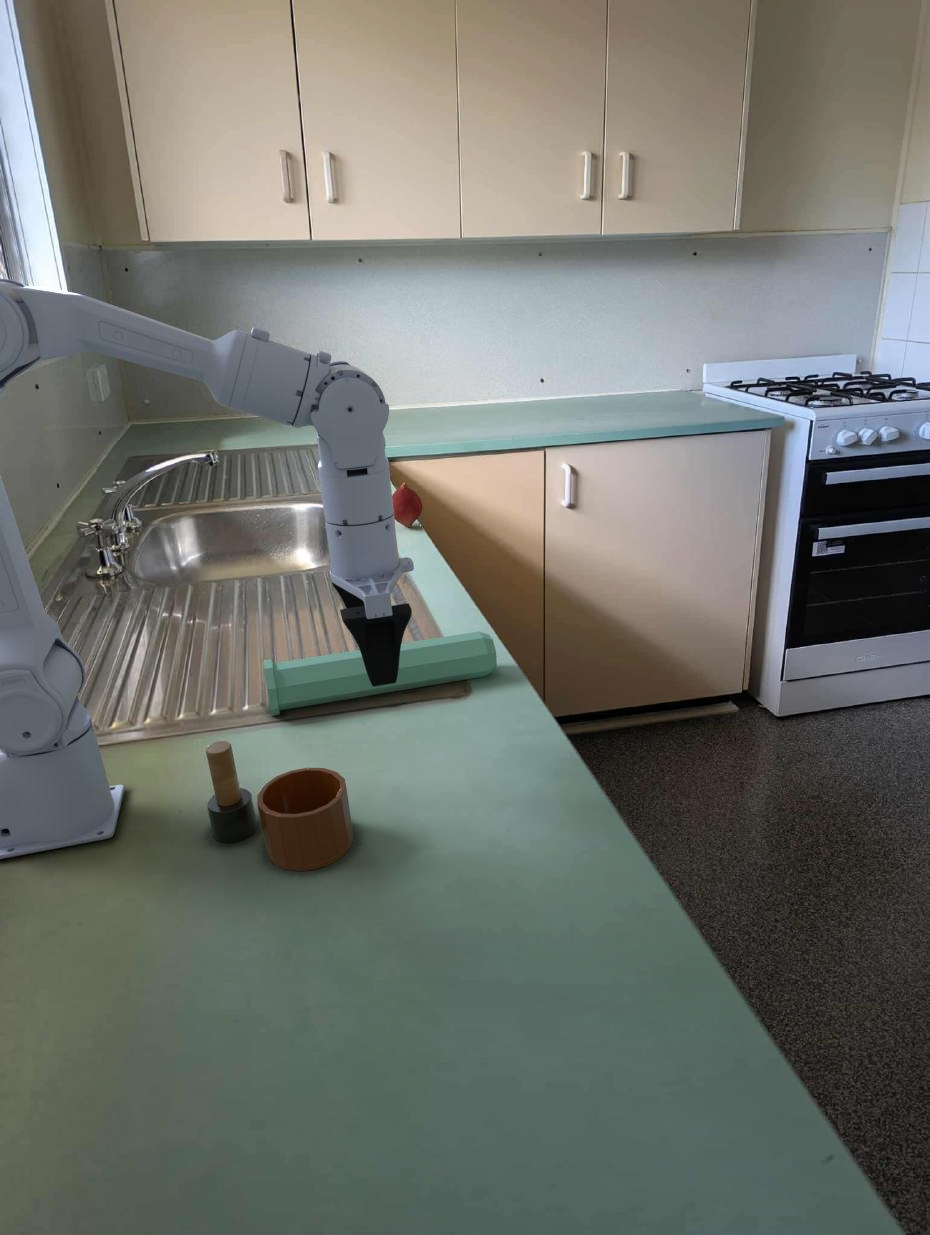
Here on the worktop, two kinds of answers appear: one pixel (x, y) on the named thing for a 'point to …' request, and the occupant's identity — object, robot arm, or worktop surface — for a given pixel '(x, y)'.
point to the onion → (406, 505)
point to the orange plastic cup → (305, 818)
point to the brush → (228, 797)
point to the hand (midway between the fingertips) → (377, 665)
